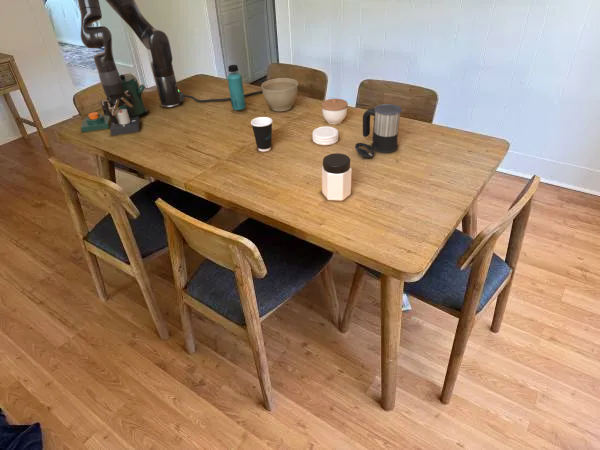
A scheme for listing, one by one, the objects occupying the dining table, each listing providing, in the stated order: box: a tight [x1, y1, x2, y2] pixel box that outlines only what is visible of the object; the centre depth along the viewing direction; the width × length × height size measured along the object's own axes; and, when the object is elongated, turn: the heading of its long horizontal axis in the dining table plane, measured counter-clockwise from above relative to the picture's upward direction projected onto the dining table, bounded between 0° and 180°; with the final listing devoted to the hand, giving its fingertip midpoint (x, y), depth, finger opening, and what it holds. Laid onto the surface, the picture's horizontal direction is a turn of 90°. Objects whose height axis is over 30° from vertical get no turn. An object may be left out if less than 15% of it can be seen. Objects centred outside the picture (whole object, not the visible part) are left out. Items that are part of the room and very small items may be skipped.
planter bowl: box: [260, 77, 299, 112], centre depth 183 cm, size 16×16×11 cm
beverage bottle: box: [226, 64, 247, 111], centre depth 180 cm, size 6×7×20 cm
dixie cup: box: [250, 116, 273, 152], centre depth 152 cm, size 8×8×11 cm
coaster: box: [311, 125, 339, 146], centre depth 157 cm, size 10×10×4 cm
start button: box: [87, 111, 100, 119], centre depth 178 cm, size 4×4×2 cm
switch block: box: [80, 113, 112, 133], centre depth 179 cm, size 11×10×4 cm
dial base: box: [109, 116, 141, 136], centre depth 175 cm, size 11×10×3 cm
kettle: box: [117, 74, 149, 119], centre depth 183 cm, size 18×13×18 cm
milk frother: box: [354, 103, 402, 159], centre depth 145 cm, size 14×16×15 cm
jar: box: [321, 152, 353, 202], centre depth 125 cm, size 9×8×12 cm
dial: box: [115, 108, 130, 125], centre depth 173 cm, size 5×5×5 cm
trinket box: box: [320, 98, 349, 125], centre depth 169 cm, size 11×11×9 cm
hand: (123, 119), depth 173 cm, fingers open, 8 cm apart
